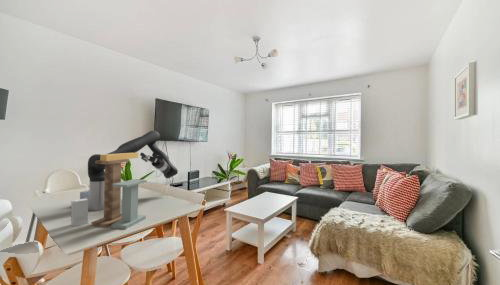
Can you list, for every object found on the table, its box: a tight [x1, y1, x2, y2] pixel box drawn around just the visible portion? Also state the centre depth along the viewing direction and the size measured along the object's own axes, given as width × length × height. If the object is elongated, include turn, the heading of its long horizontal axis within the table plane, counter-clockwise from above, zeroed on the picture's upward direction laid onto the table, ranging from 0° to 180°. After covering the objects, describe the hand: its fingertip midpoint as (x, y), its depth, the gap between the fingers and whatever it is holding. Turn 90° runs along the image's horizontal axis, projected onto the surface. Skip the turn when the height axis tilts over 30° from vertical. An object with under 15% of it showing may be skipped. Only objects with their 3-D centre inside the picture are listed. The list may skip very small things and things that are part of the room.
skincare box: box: [70, 198, 89, 227], centre depth 102 cm, size 6×4×12 cm
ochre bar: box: [100, 152, 139, 161], centre depth 112 cm, size 4×22×3 cm, turn 170°
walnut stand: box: [90, 159, 130, 228], centre depth 107 cm, size 10×14×32 cm
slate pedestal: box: [111, 178, 148, 230], centre depth 105 cm, size 8×14×21 cm, turn 170°
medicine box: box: [79, 189, 90, 199], centre depth 134 cm, size 8×4×9 cm, turn 168°
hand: (147, 153), depth 133 cm, fingers open, 8 cm apart
